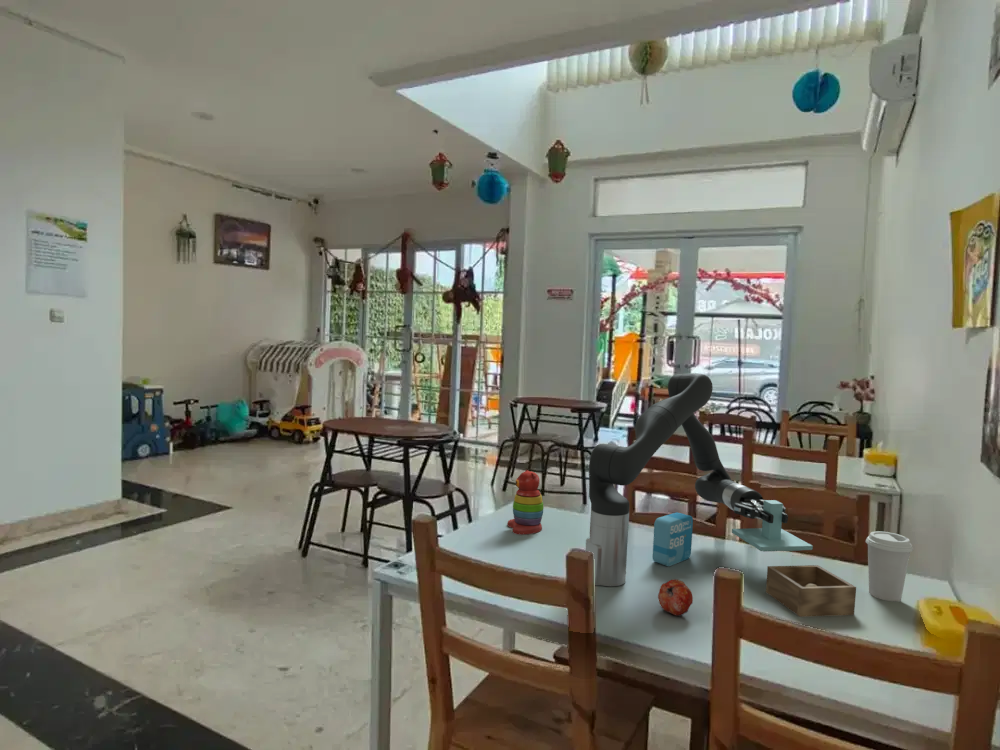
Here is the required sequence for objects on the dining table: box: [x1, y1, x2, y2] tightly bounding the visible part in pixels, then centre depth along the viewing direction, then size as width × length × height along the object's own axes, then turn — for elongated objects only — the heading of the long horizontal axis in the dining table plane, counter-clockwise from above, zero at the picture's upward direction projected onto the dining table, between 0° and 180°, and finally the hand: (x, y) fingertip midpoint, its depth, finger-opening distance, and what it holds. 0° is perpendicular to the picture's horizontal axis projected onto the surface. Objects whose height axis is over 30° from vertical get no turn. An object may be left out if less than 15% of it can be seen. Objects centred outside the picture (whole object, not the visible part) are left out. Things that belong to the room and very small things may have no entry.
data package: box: [652, 512, 694, 567], centre depth 171 cm, size 12×4×12 cm, turn 132°
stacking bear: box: [506, 469, 545, 536], centre depth 193 cm, size 11×10×18 cm
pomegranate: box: [657, 578, 694, 617], centre depth 139 cm, size 7×7×10 cm
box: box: [765, 564, 857, 618], centre depth 144 cm, size 13×13×7 cm
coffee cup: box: [865, 530, 914, 603], centre depth 150 cm, size 10×10×15 cm
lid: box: [731, 499, 814, 552], centre depth 160 cm, size 14×14×11 cm
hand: (779, 519), depth 157 cm, fingers closed on lid, 3 cm apart
